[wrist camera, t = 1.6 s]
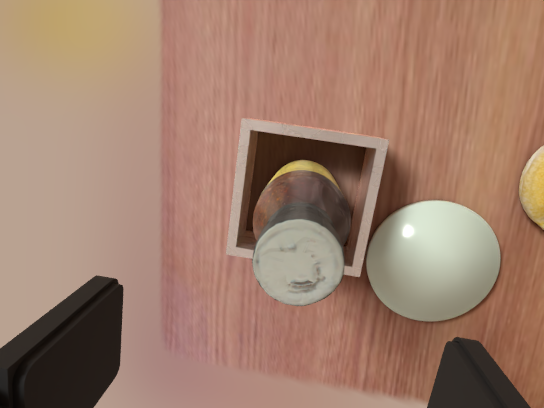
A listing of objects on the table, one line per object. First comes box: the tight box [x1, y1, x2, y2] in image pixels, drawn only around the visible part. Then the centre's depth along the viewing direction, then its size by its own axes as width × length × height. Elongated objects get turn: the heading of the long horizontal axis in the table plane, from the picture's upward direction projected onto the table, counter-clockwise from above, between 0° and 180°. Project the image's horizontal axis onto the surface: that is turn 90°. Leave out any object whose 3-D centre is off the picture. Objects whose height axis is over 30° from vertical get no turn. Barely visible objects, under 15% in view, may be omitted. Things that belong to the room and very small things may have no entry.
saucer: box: [366, 200, 500, 321], centre depth 35 cm, size 12×12×1 cm
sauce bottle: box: [252, 160, 351, 306], centre depth 25 cm, size 6×6×20 cm
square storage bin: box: [226, 118, 389, 277], centre depth 33 cm, size 12×12×5 cm
